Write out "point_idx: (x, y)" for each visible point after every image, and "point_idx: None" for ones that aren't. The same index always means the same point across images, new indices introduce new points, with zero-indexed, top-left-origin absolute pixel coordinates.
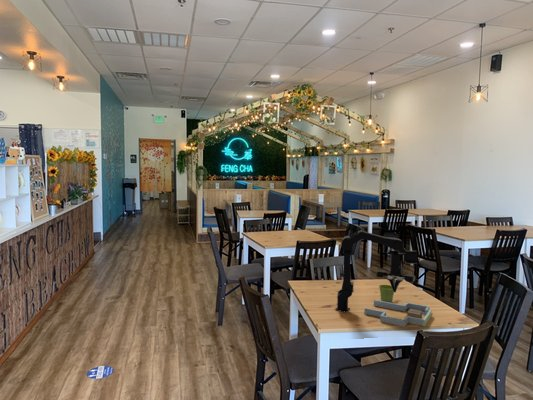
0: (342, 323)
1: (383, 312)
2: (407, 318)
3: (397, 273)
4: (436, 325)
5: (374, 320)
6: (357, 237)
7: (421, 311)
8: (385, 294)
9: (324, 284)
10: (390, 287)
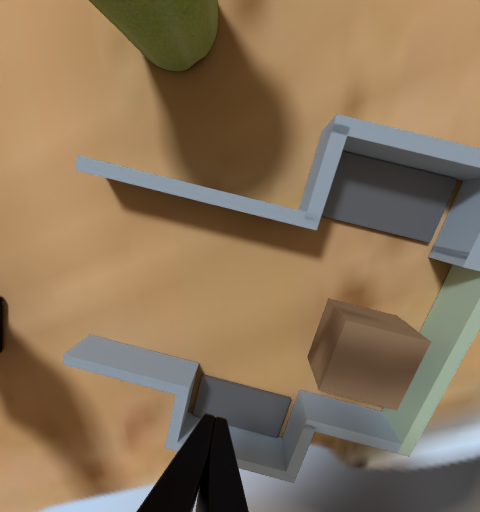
0: (38, 472)
1: (175, 401)
2: (309, 434)
3: None
4: (455, 395)
5: (150, 411)
6: None
7: (423, 349)
8: (132, 27)
9: None
10: None
